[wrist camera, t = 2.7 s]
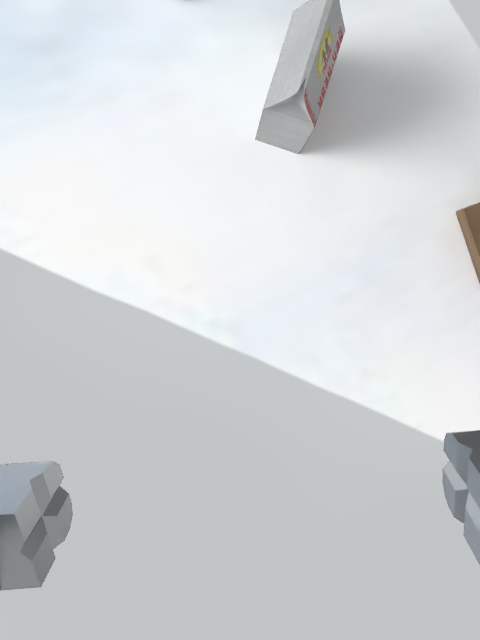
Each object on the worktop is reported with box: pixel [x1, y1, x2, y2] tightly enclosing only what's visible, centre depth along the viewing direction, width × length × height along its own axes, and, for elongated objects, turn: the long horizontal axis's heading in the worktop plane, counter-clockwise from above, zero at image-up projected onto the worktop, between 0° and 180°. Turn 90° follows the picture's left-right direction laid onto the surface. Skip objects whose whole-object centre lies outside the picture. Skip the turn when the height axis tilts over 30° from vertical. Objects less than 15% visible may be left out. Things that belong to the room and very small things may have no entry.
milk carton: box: [255, 0, 345, 154], centre depth 32 cm, size 4×7×10 cm, turn 163°
